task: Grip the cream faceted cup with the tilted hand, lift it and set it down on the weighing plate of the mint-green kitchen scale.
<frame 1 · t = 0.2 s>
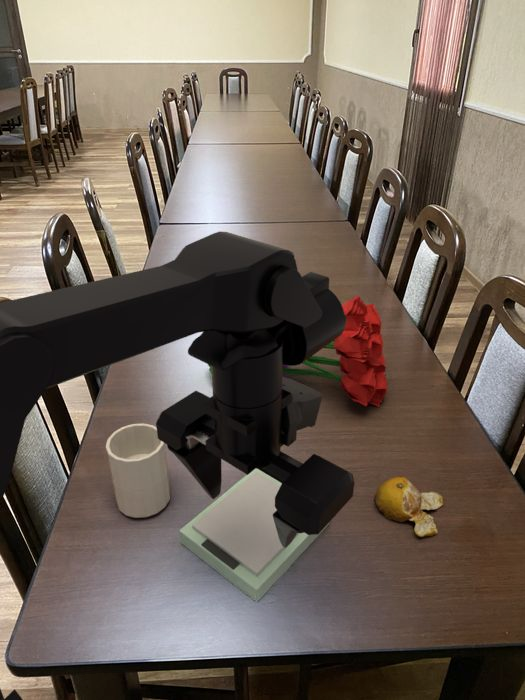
hand: (249, 518, 52), 12 cm above the table, tool pointing down, fingers open, 9 cm apart
scale: (256, 533, 65), on the table
bouquet: (292, 389, 91), on the table
fruit: (411, 514, 68), on the table
cream faceted cup: (144, 500, 70), on the table
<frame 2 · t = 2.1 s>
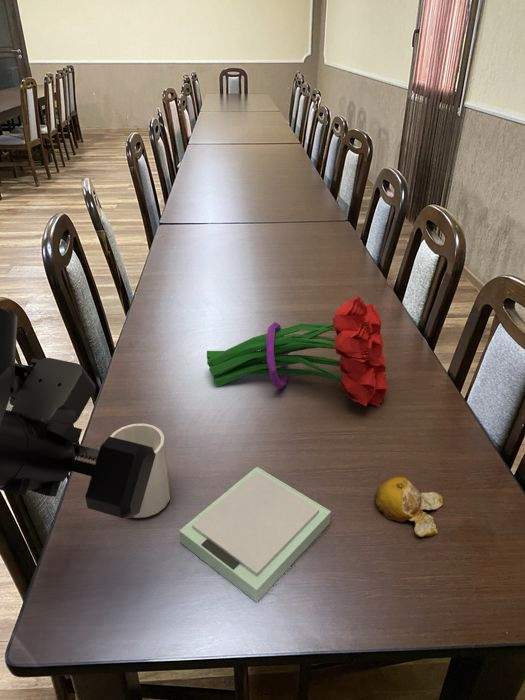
hand: (98, 466, 56), 13 cm above the table, tool tilted 45°, fingers open, 9 cm apart
nothing on the table moved.
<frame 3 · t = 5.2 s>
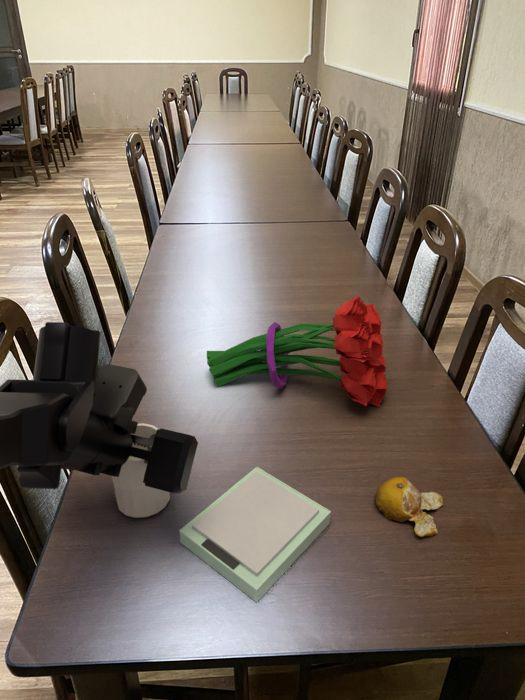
hand: (143, 452, 67), 7 cm above the table, tool tilted 45°, fingers closed on cream faceted cup, 7 cm apart
cream faceted cup: (144, 500, 70), on the table, touching gripper
everything else where it was.
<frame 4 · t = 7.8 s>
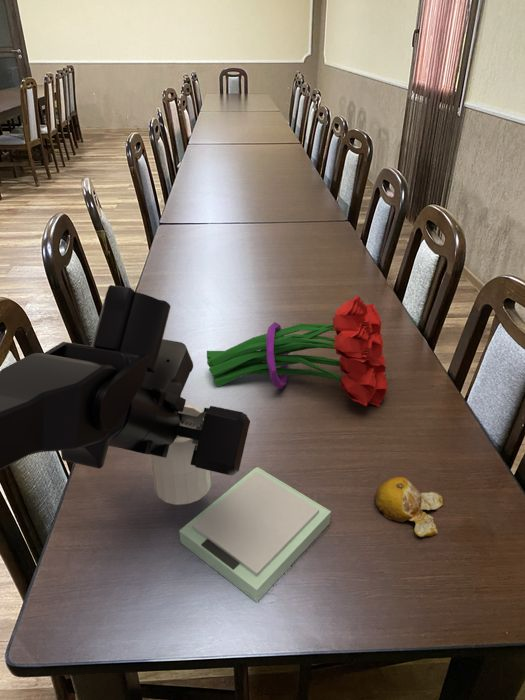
hand: (184, 435, 63), 12 cm above the table, tool tilted 45°, fingers closed on cream faceted cup, 7 cm apart
cream faceted cup: (183, 487, 66), point 5 cm above the table, touching gripper
everything else where it was.
when the fingers open (10 cm above the table, at t = 10.6 s): cream faceted cup stays where it is, resting on scale.
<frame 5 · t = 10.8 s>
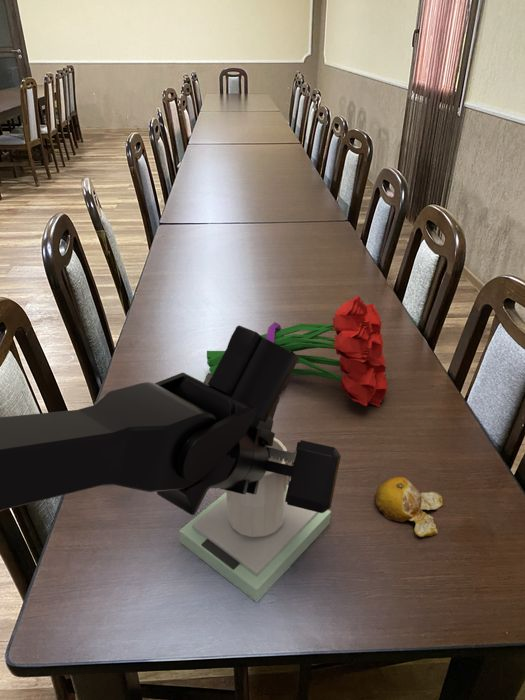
hand: (260, 464, 61), 10 cm above the table, tool tilted 45°, fingers open, 8 cm apart
cream faceted cup: (256, 517, 64), point 3 cm above the table, touching scale
everything else where it was.
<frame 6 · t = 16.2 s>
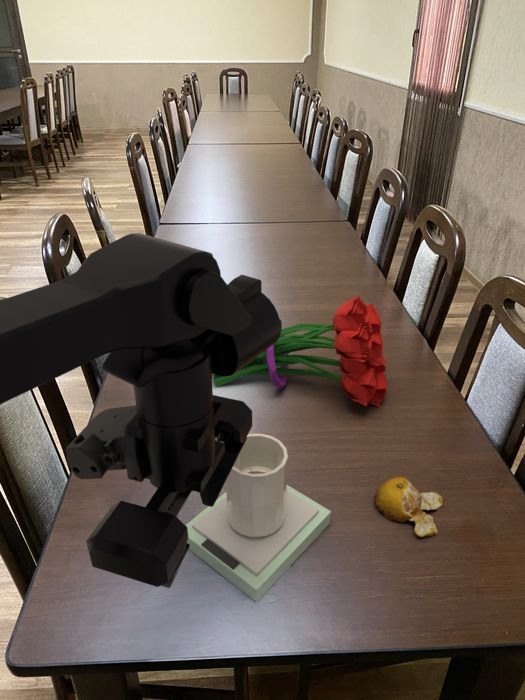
hand: (188, 541, 48), 13 cm above the table, tool pointing down, fingers open, 9 cm apart
nothing on the table moved.
at the end: cream faceted cup inside the target area on the scale (0.0 cm from its centre), point 2.8 cm above the scale's base; cream faceted cup tilted 0°; the gripper is holding nothing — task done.
